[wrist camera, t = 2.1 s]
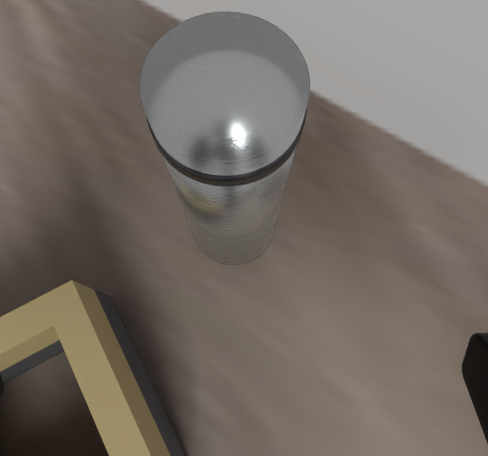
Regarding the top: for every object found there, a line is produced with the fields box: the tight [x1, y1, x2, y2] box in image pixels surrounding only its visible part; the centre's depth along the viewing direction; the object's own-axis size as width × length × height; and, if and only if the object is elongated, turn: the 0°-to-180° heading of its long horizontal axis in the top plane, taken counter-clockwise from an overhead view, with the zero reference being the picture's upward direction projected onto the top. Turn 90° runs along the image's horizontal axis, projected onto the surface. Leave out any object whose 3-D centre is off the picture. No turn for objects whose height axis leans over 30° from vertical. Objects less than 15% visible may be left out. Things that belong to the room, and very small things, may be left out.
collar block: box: [0, 280, 185, 456], centre depth 17 cm, size 8×8×5 cm
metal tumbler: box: [140, 12, 310, 265], centre depth 16 cm, size 4×4×12 cm
